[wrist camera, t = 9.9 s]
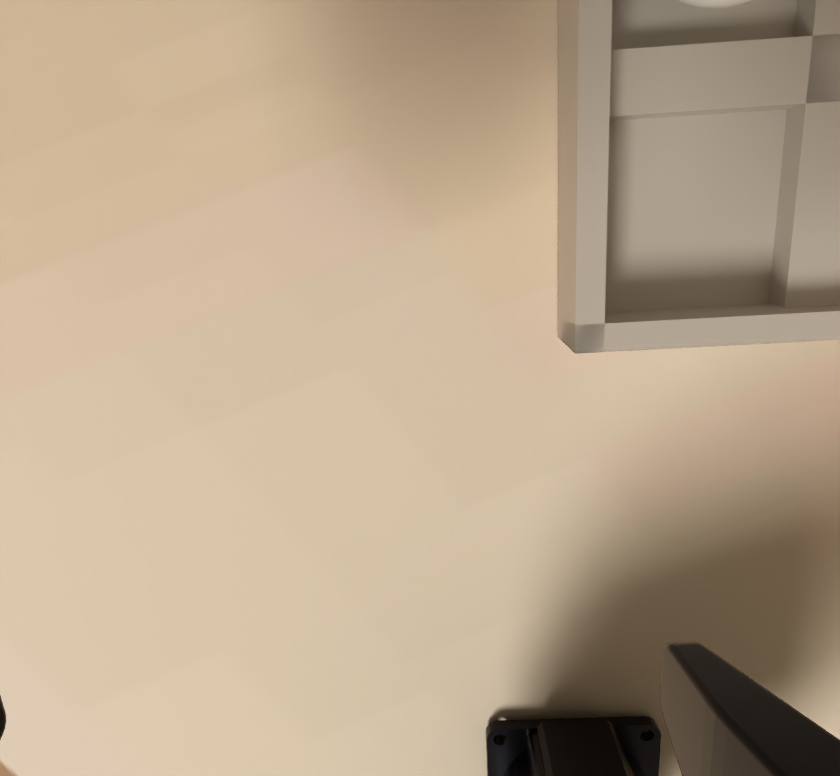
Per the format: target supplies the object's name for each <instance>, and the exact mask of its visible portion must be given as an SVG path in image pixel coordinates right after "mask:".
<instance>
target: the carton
mask: <svg viewBox="0 0 840 776" xmlns="http://www.w3.org/2000/svg"><path fill="white" fill-rule="evenodd" d="M558 337H559V338H560V339H561V340H562V341H563V342H564V343H565V344H566V345H567V346H568V347H569V348H570V349H571V350H572V351H573V352H574V353H593V352H613V351H632V350H651V349H670V348H690V347H709V346H728V345H747V344H767V343H786V342H805V341H824V340H840V0H754V1H752V2H749V3H746V4H742V5H739V6H735V7H729V8H722V9H707V8H700V7H694V6H691V5H688V4H684V3H682V2H680V1H678V0H558Z"/></svg>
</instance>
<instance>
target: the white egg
mask: <svg viewBox="0 0 840 776" xmlns="http://www.w3.org/2000/svg"><path fill="white" fill-rule="evenodd" d="M678 1H680V2H682V3H684V4H688V5H691V6H694V7H700V8H707V9H722V8H729V7H735V6H739V5H742V4H746V3H749V2H752V1H754V0H678Z"/></svg>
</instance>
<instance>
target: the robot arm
mask: <svg viewBox="0 0 840 776" xmlns="http://www.w3.org/2000/svg"><path fill="white" fill-rule="evenodd" d="M660 702H661V708H662V713H663V716H664V719H665V723H666V726H667V729H668V732H669V735H670V738H671V741H672V744H673V748H674V751H675V754H676V757H677V760H678V763H679V766H680V770H681V773H682V776H840V740H839V739H838V738H836V737H835V736H833V735H832V734H830V733H829V732H827V731H826V730H825V729H823V728H822V727H820V726H819V725H817V724H816V723H814V722H813V721H812V720H810V719H809V718H807V717H806V716H804V715H803V714H801V713H800V712H799V711H797V710H796V709H794V708H793V707H791V706H790V705H788V704H787V703H785V702H784V701H783V700H781V699H780V698H778V697H777V696H775V695H774V694H772V693H771V692H770V691H768V690H767V689H765V688H764V687H762V686H761V685H759V684H758V683H757V682H755V681H754V680H752V679H751V678H749V677H748V676H746V675H745V674H744V673H742V672H741V671H739V670H738V669H736V668H735V667H733V666H732V665H731V664H729V663H728V662H726V661H725V660H723V659H722V658H720V657H719V656H718V655H716V654H715V653H713V652H712V651H710V650H709V649H707V648H706V647H704V646H703V645H701V644H700V643H697V642H670V643H668V644H666V645H665V646H664V649H663V653H662V669H661V687H660ZM5 724H6V713H5V710H4V706H3V703H2V700H1V696H0V739H1V737H2V735H3V732H4V729H5ZM646 730H649V731H647V732H644V733H643V731H646ZM499 734H501V735H503V736H500V737H498V736H496V735H499ZM660 739H661V734H660V730H659V728H658V726H657V723H656V722H655V721H654V719H652V718H650V717H645V716H640V717H606V718H573V719H539V720H505V721H494V722H492V723H490V724H489V725H488V727H487V728H486V751H487V776H658V773H659V756H660Z"/></svg>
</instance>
